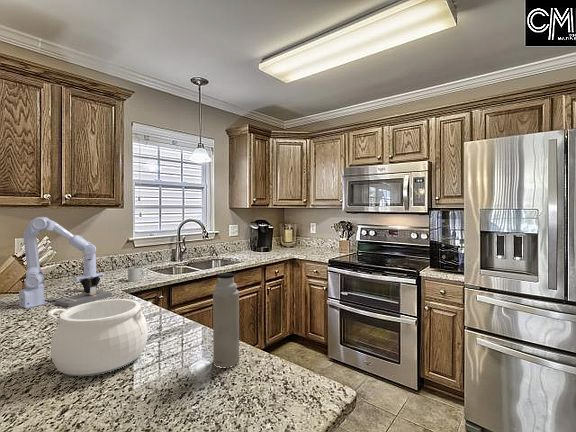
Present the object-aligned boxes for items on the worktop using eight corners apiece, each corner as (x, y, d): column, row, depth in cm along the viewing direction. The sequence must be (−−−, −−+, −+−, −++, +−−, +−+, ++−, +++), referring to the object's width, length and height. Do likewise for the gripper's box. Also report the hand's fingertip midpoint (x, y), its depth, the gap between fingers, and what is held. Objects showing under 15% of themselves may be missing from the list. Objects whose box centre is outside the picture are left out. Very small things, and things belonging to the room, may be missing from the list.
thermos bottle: (208, 363, 99) (207, 274, 98) (228, 354, 105) (227, 270, 104) (224, 371, 94) (224, 277, 93) (244, 361, 100) (244, 273, 99)
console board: (68, 307, 154) (68, 303, 154) (55, 304, 160) (55, 299, 160) (111, 296, 174) (111, 292, 173) (98, 293, 179) (98, 289, 179)
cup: (126, 280, 210) (126, 267, 210) (142, 278, 217) (142, 265, 216) (129, 282, 205) (129, 269, 204) (146, 280, 211) (145, 267, 211)
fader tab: (90, 295, 167) (90, 286, 166) (84, 294, 169) (84, 285, 169) (96, 293, 169) (96, 285, 169) (90, 292, 172) (90, 284, 172)
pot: (27, 390, 84) (26, 326, 84) (66, 348, 110) (65, 299, 109) (145, 374, 92) (145, 316, 92) (156, 338, 118) (156, 292, 117)
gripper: (80, 270, 160) (80, 296, 161) (107, 265, 173) (108, 289, 174) (72, 268, 164) (72, 294, 164) (99, 264, 177) (100, 288, 177)
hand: (90, 292), depth 169 cm, fingers closed on fader tab, 3 cm apart
